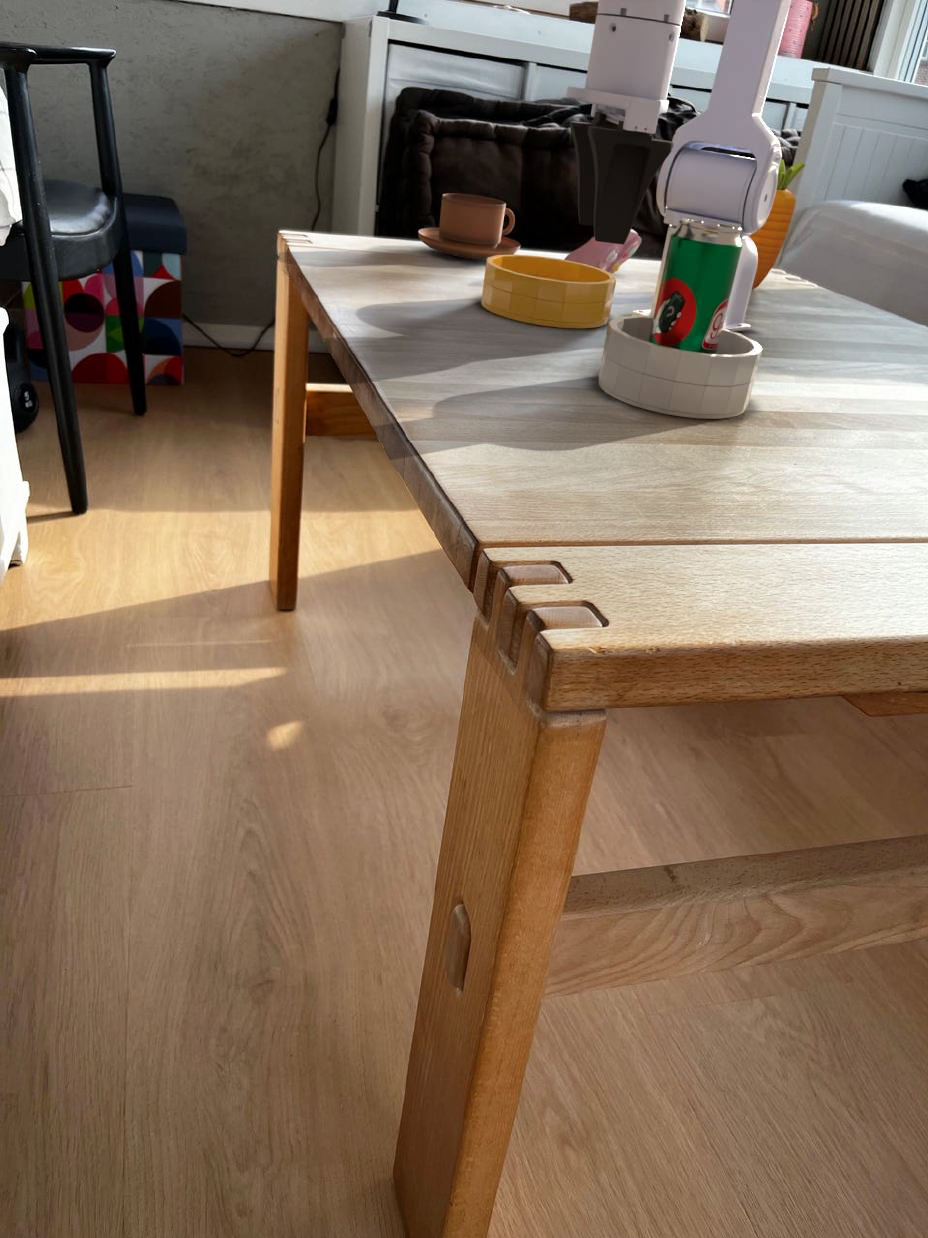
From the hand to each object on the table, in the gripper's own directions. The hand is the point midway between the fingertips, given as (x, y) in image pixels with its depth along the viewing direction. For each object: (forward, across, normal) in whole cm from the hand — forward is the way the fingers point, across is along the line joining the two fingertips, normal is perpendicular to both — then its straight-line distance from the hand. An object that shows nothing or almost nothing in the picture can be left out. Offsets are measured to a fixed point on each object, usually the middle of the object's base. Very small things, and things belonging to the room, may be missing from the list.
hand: (600, 233), depth 75 cm
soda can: (+10, +4, +7) cm, 13 cm away
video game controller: (+10, -44, +9) cm, 46 cm away
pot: (+10, +4, +7) cm, 13 cm away
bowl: (+10, -20, 0) cm, 23 cm away
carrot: (+10, -47, +28) cm, 56 cm away
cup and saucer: (+10, -46, -6) cm, 48 cm away
